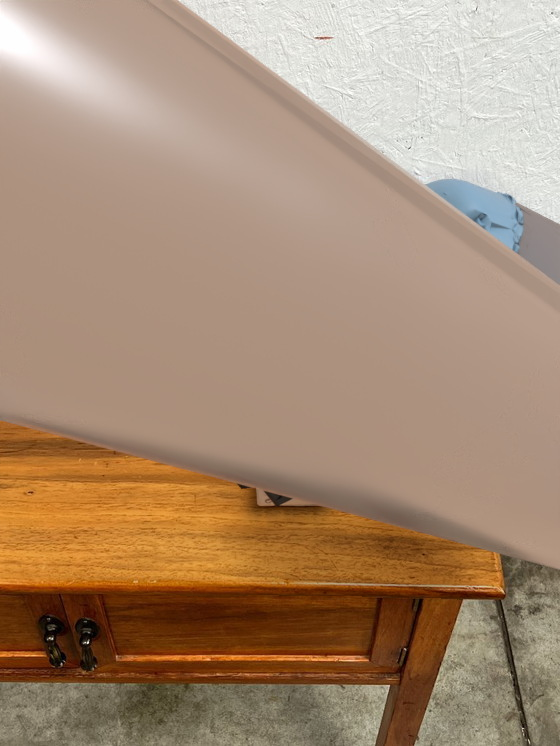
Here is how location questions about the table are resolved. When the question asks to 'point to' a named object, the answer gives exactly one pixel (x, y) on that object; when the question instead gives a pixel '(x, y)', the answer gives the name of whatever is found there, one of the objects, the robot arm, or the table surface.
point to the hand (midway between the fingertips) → (280, 420)
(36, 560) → the table surface
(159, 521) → the table surface
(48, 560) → the table surface
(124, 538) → the table surface
